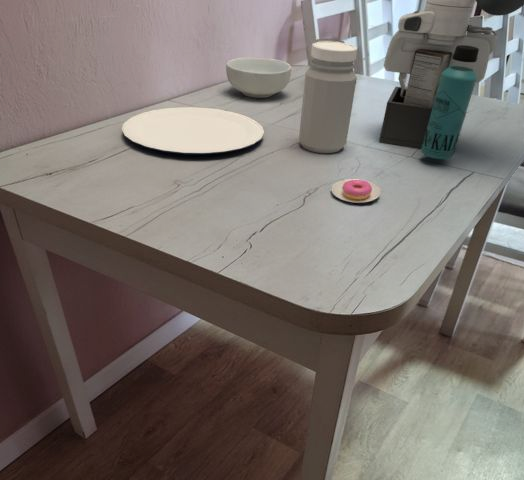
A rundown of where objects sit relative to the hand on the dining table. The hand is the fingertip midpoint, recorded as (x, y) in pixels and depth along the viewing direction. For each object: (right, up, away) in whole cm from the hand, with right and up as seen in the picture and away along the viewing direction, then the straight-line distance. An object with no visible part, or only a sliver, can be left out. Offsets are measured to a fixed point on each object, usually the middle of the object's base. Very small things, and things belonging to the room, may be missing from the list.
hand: (425, 100), depth 104 cm
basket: (0, -6, +5) cm, 8 cm away
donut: (-18, -26, -19) cm, 38 cm away
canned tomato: (-17, +23, +37) cm, 46 cm away
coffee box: (0, -5, +5) cm, 7 cm away
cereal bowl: (-36, +14, +26) cm, 47 cm away
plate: (-49, -9, -2) cm, 50 cm away
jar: (-23, -11, -3) cm, 25 cm away
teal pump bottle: (0, -16, -6) cm, 17 cm away
